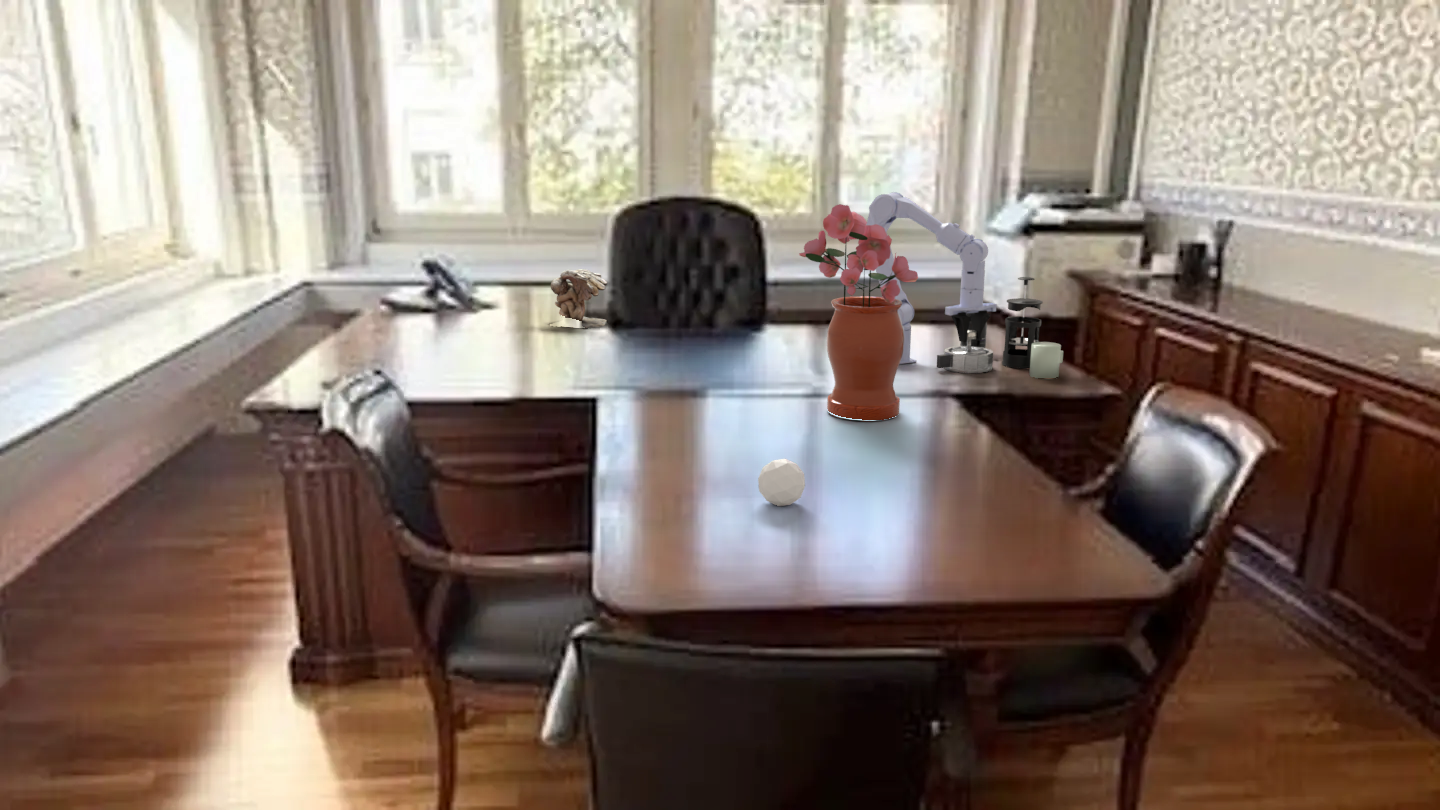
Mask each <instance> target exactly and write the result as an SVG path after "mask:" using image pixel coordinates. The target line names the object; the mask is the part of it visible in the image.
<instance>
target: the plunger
mask: <svg viewBox="0 0 1440 810" xmlns="http://www.w3.org/2000/svg"><path fill="white" fill-rule="evenodd" d="M976 336H977V331H974V330H968V332H967V348H958V349H953V350H951V352H952V353H956V354H963V355H981V354H986V351H984V350H980V349H973V348H971V340H973V339H976Z"/></svg>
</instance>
